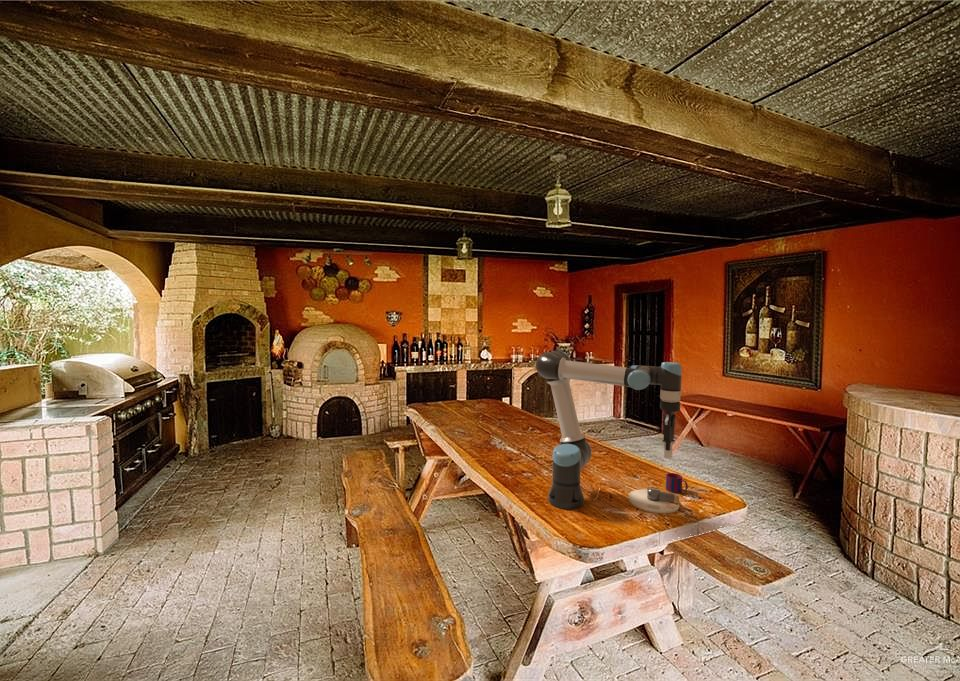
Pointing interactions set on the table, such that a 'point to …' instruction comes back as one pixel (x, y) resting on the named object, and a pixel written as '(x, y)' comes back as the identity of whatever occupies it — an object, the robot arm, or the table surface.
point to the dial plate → (651, 503)
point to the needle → (661, 495)
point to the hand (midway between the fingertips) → (668, 457)
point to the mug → (674, 483)
